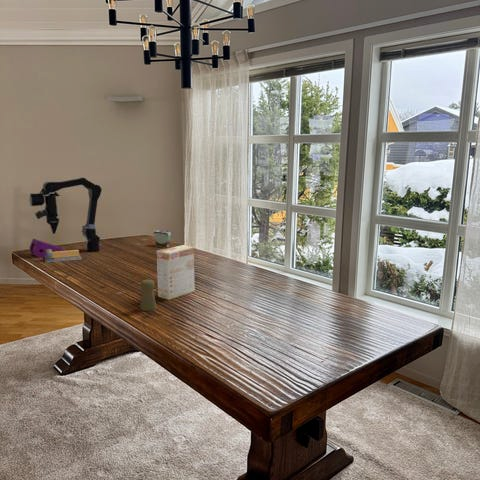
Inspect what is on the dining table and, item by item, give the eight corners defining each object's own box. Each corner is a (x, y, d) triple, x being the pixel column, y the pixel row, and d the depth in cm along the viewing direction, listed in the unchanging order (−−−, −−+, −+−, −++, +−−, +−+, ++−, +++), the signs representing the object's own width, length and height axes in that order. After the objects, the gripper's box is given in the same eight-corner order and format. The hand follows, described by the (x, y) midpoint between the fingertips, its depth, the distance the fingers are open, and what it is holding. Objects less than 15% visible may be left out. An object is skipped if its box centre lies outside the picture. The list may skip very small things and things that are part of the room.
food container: (175, 246, 276) (174, 231, 274) (168, 248, 271) (168, 232, 269) (160, 244, 282) (160, 229, 280) (153, 246, 277) (153, 230, 275)
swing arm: (78, 255, 245) (78, 246, 244) (79, 256, 242) (78, 247, 241) (46, 258, 238) (45, 249, 237) (46, 259, 235) (45, 250, 234)
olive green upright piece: (157, 305, 169) (156, 278, 167) (155, 310, 163) (154, 282, 161) (141, 305, 169) (140, 278, 167) (138, 310, 163) (137, 282, 161)
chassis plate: (78, 254, 253) (78, 251, 253) (81, 259, 240) (81, 257, 240) (44, 257, 245) (44, 254, 245) (45, 262, 233) (45, 260, 232)
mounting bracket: (57, 261, 260) (27, 252, 248) (63, 248, 261) (33, 238, 249) (62, 264, 253) (31, 255, 241) (68, 251, 253) (37, 241, 242)
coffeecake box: (183, 288, 191) (183, 244, 187) (195, 291, 187) (194, 246, 183) (157, 296, 180) (155, 250, 176) (168, 300, 175) (167, 252, 172)
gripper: (35, 203, 248) (38, 230, 252) (35, 207, 232) (38, 236, 235) (56, 202, 253) (58, 229, 256) (57, 206, 236) (60, 234, 240)
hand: (53, 232), depth 247 cm, fingers open, 9 cm apart
